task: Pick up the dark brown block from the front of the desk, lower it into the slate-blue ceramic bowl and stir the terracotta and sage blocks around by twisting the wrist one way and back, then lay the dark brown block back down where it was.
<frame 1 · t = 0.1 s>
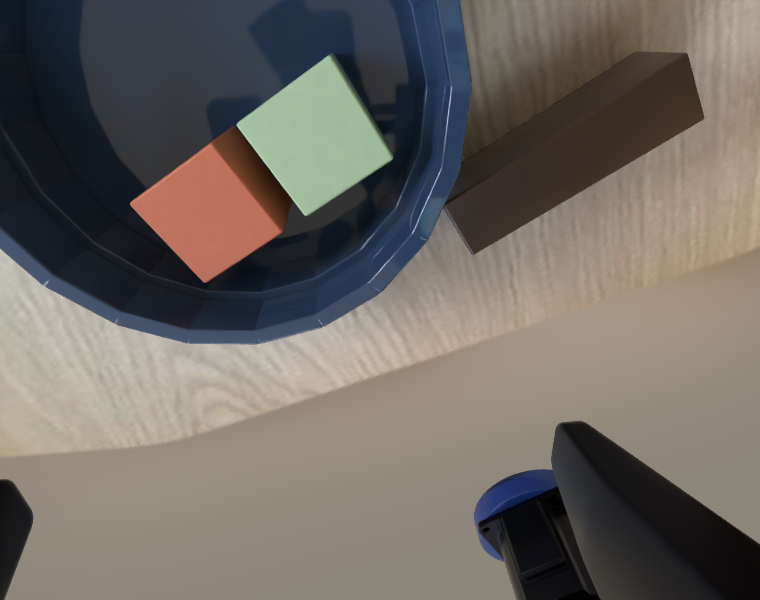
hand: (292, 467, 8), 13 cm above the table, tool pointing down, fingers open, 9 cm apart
sage block: (321, 125, 17), resting on bowl
terracotta block: (230, 189, 18), resting on bowl
dark brown block: (539, 146, 19), on the table
bowl: (233, 97, 17), on the table
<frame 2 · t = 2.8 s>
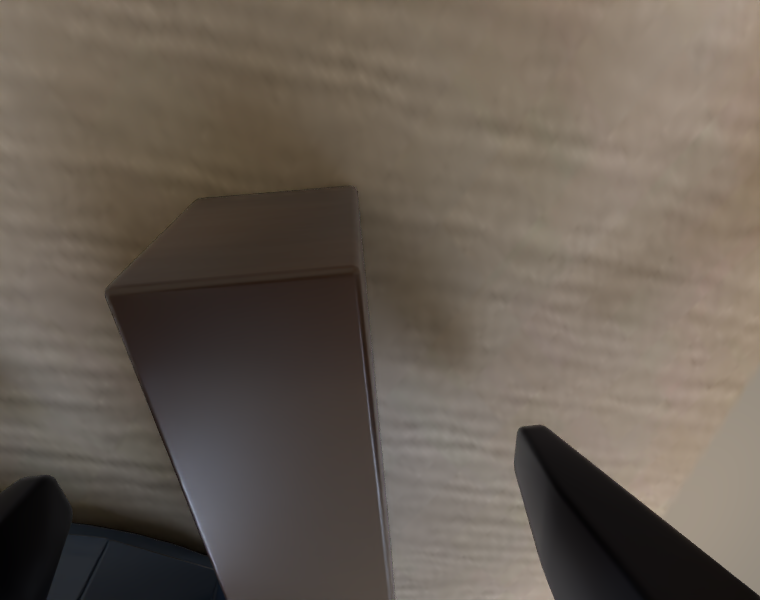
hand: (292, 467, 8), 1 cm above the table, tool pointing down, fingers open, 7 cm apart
dark brown block: (316, 420, 9), on the table
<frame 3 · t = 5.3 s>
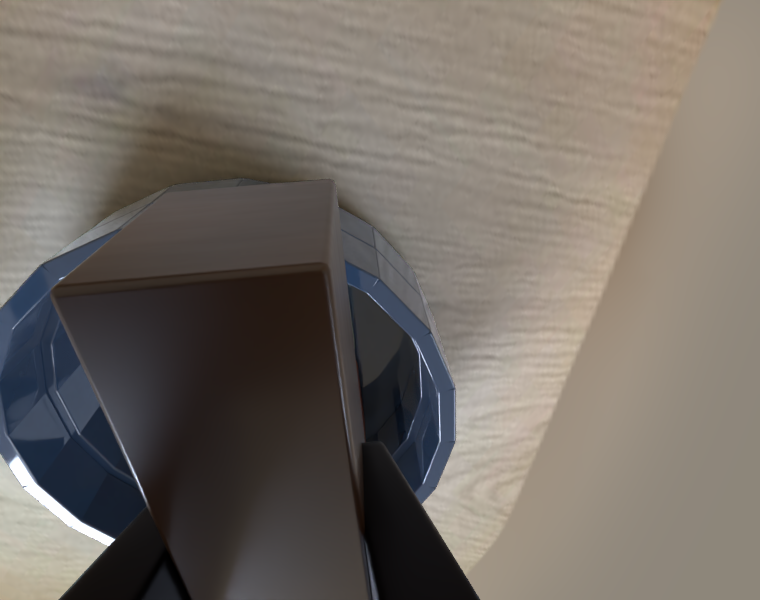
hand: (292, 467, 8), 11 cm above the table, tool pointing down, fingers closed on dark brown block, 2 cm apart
dark brown block: (298, 424, 9), point 10 cm above the table, touching gripper
bowl: (257, 353, 20), on the table
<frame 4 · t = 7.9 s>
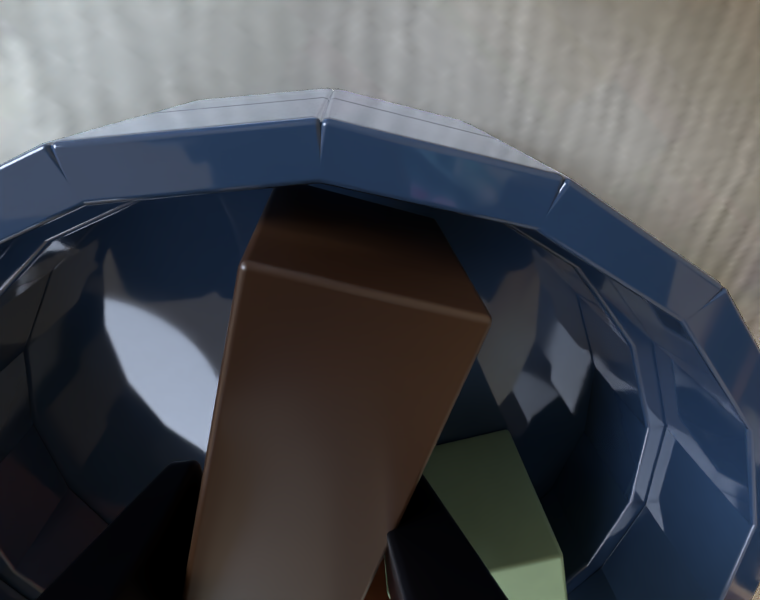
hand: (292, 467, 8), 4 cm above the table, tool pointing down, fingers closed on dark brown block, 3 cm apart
sage block: (453, 487, 13), point 1 cm above the table, touching bowl
terracotta block: (319, 545, 14), point 1 cm above the table, touching bowl, dark brown block
dark brown block: (296, 426, 9), point 3 cm above the table, touching bowl, gripper, terracotta block
bowl: (324, 413, 12), on the table
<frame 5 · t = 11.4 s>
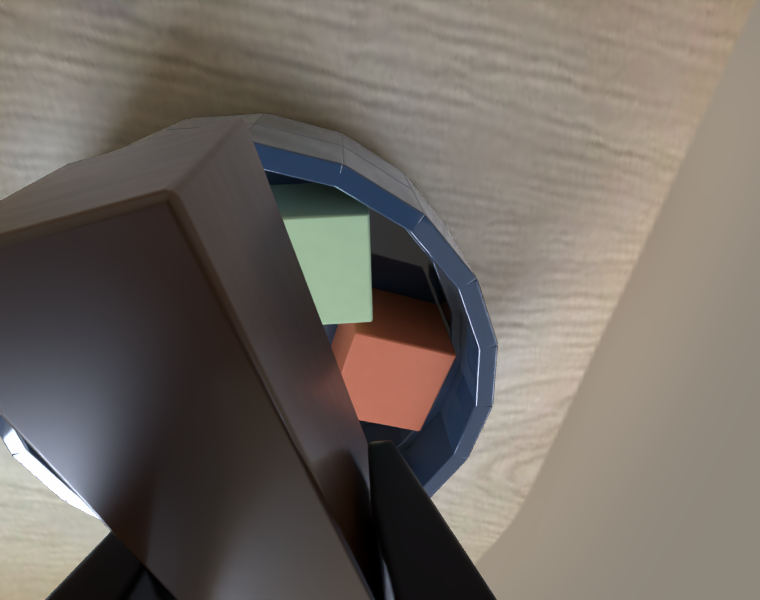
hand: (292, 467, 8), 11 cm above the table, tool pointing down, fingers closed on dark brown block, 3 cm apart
sage block: (315, 231, 17), point 1 cm above the table, touching bowl
terracotta block: (381, 329, 19), point 1 cm above the table, touching bowl
dark brown block: (278, 395, 8), point 10 cm above the table, touching gripper
bowl: (270, 317, 19), on the table
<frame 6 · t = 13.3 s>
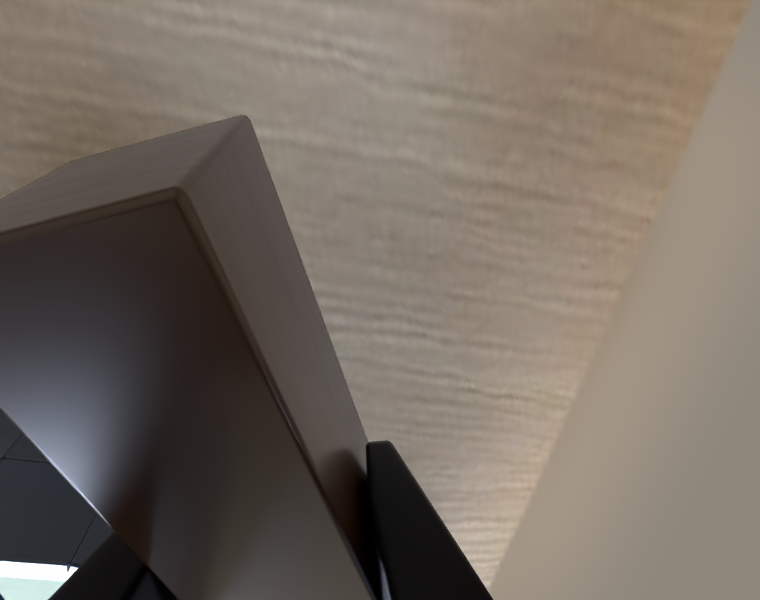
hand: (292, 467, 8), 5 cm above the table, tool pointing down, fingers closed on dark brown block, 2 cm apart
sage block: (144, 489, 14), point 1 cm above the table, touching bowl
dark brown block: (280, 394, 8), point 4 cm above the table, touching gripper
bowl: (116, 553, 16), on the table
when the fingers open (1 cm above the table, at t = 14.6 s): dark brown block stays where it is, on the table.
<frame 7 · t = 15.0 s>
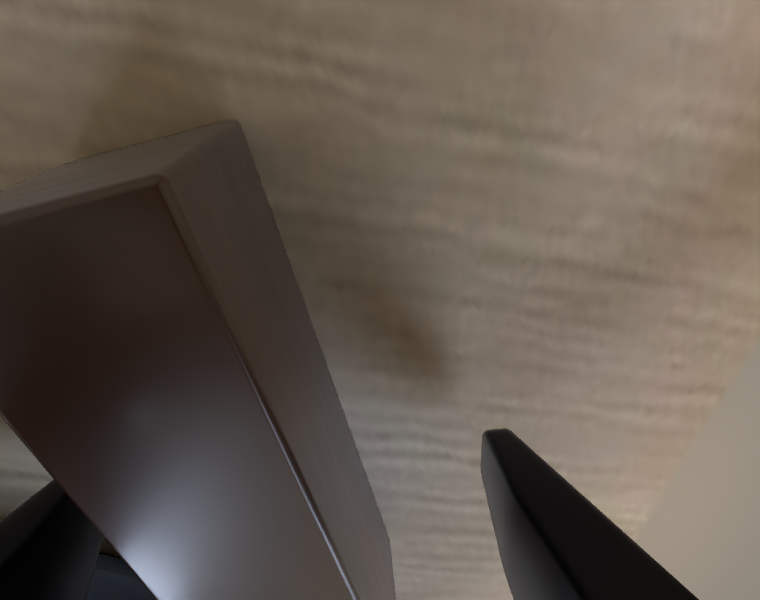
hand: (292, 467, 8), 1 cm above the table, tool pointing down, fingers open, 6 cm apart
dark brown block: (268, 399, 8), on the table
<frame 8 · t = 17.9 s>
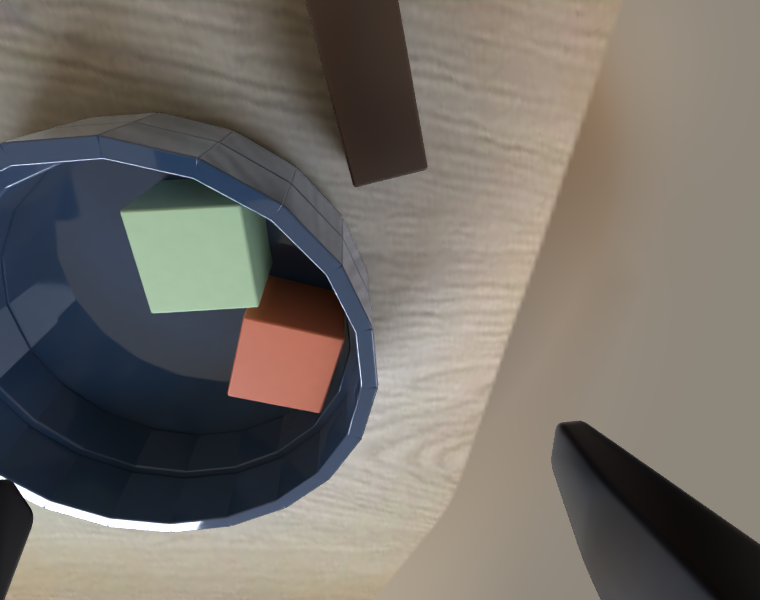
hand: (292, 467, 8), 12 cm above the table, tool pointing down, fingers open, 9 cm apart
sage block: (219, 224, 18), point 1 cm above the table, touching bowl
terracotta block: (293, 318, 20), point 1 cm above the table, touching bowl
dark brown block: (353, 20, 15), on the table
bowl: (188, 306, 20), on the table
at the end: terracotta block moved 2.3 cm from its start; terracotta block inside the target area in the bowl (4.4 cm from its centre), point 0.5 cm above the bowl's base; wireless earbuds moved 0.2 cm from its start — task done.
